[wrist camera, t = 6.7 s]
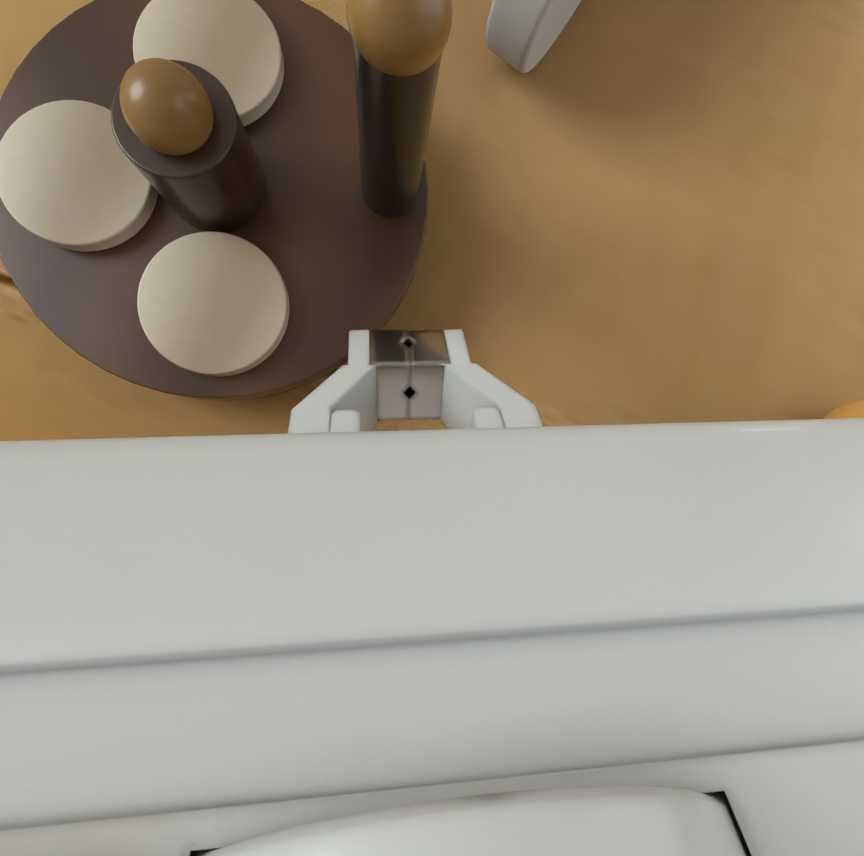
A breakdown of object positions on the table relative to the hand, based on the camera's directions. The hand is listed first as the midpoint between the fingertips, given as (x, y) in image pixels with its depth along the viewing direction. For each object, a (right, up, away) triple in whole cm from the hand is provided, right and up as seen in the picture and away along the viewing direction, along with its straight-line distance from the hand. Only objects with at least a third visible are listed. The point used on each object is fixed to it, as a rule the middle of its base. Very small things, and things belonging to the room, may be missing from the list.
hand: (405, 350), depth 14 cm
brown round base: (-7, +7, +6) cm, 12 cm away
